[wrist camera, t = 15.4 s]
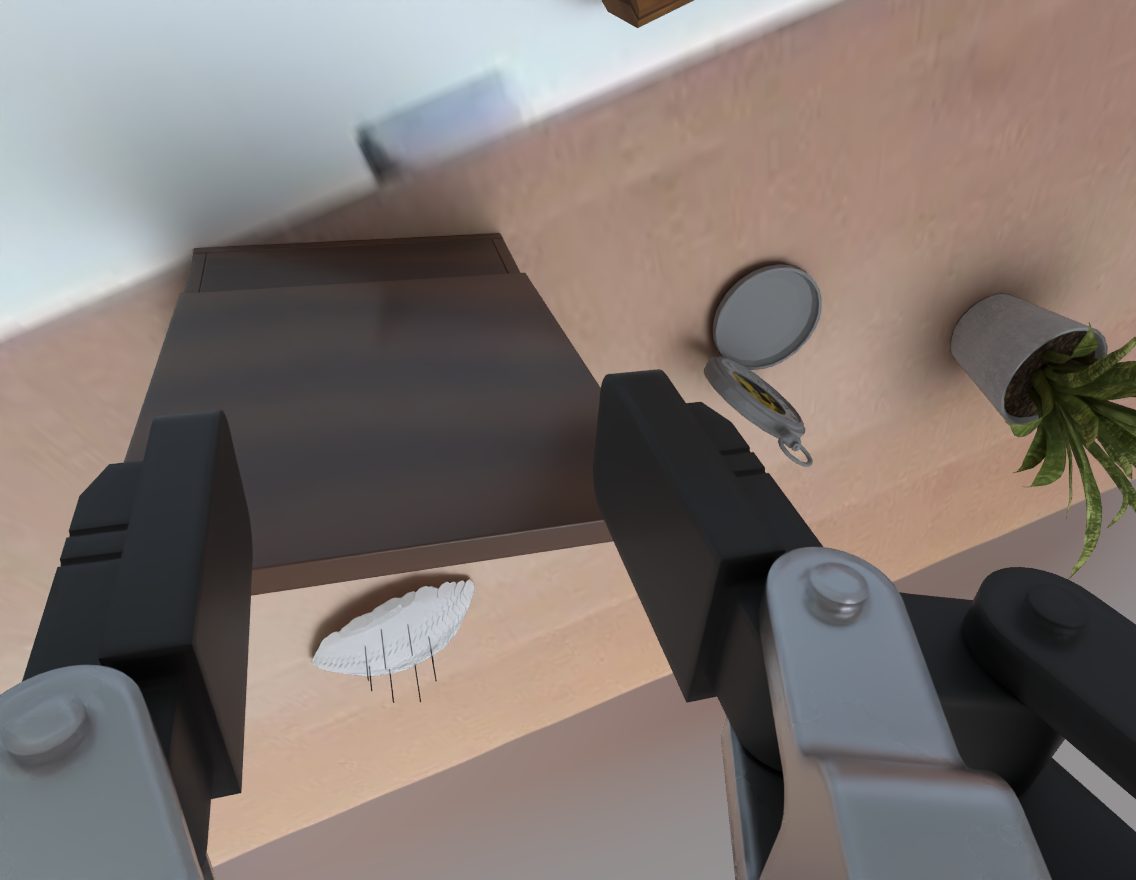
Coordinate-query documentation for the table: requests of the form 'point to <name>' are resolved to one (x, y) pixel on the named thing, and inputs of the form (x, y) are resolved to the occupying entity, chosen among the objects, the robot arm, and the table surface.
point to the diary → (642, 9)
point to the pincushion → (397, 632)
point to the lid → (389, 422)
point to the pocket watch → (764, 346)
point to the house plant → (1054, 394)
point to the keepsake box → (347, 262)
